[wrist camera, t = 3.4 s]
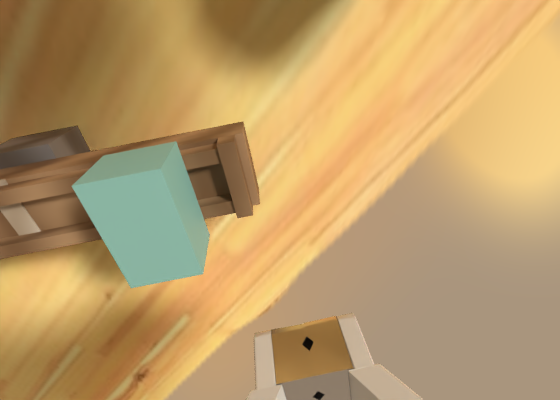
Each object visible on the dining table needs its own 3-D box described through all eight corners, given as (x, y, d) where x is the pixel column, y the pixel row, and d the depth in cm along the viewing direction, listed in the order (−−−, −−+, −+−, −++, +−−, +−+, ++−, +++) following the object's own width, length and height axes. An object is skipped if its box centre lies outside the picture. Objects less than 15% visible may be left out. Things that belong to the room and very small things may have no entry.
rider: (180, 133, 18) (160, 168, 14) (211, 223, 21) (203, 274, 17) (112, 147, 18) (71, 186, 14) (153, 234, 21) (131, 288, 17)
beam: (240, 93, 23) (238, 122, 17) (259, 176, 27) (263, 226, 20) (-152, 170, 23) (-306, 229, 17) (-81, 242, 27) (-186, 314, 20)
